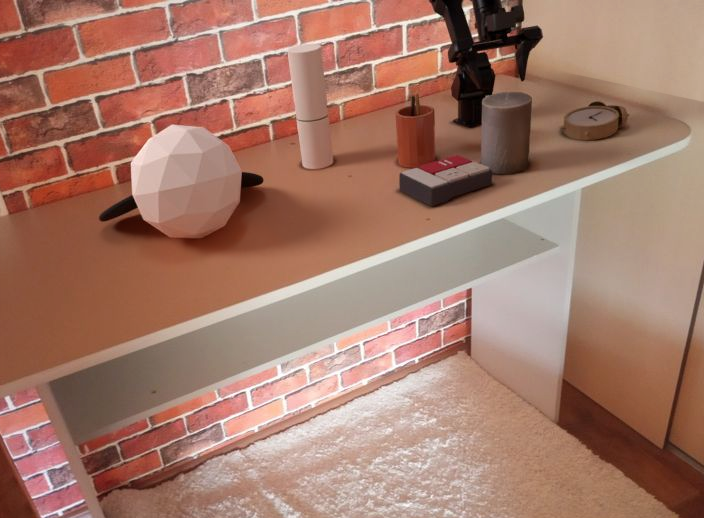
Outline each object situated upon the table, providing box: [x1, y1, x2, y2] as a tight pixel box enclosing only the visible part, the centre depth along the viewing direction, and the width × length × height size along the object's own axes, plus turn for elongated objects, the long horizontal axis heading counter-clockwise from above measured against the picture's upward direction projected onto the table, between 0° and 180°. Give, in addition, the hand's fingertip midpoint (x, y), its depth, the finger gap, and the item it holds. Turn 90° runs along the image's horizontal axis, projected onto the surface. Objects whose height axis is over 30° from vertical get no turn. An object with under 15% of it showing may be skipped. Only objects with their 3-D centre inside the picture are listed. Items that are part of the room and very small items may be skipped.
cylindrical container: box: [286, 43, 334, 170], centre depth 154 cm, size 7×7×25 cm
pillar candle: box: [480, 91, 533, 175], centre depth 143 cm, size 10×10×15 cm
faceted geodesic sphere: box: [98, 124, 265, 239], centre depth 138 cm, size 35×30×22 cm
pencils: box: [410, 91, 421, 116], centre depth 151 cm, size 3×3×14 cm
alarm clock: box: [558, 100, 630, 141], centre depth 156 cm, size 11×5×15 cm
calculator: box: [398, 154, 493, 207], centre depth 141 cm, size 11×4×15 cm
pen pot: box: [395, 104, 436, 169], centre depth 152 cm, size 8×8×11 cm
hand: (501, 84), depth 148 cm, fingers open, 9 cm apart
